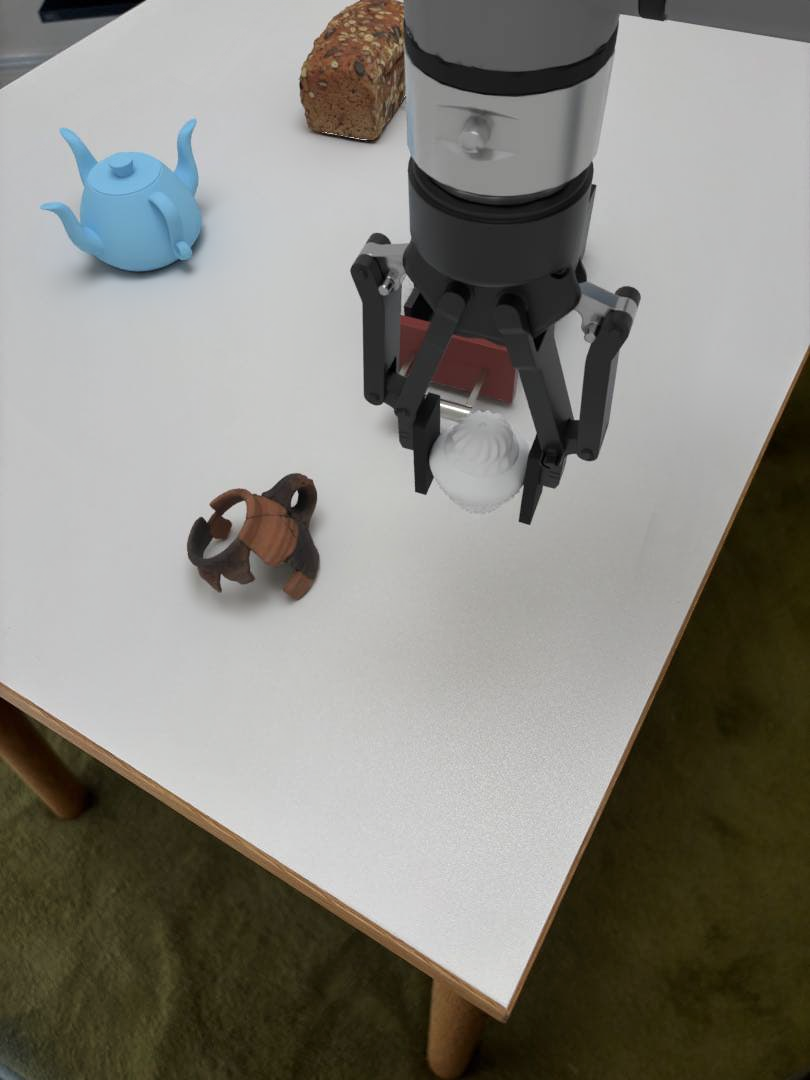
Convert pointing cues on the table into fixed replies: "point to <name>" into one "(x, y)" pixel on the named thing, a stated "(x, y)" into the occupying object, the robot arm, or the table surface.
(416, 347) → the red drawer
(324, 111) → the bread
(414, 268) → the robot arm
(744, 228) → the table surface
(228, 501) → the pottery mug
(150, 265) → the teapot
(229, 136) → the table surface
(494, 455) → the muffin
